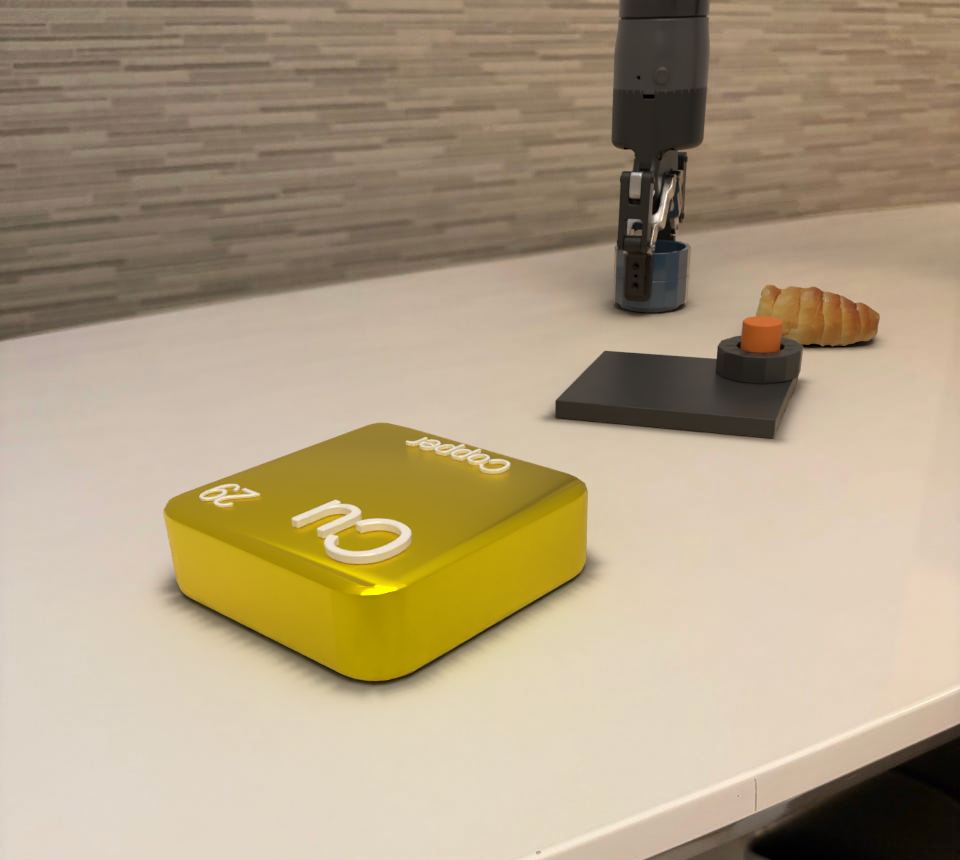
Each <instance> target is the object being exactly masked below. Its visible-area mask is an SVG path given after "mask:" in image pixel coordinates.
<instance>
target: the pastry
mask: <svg viewBox="0 0 960 860" xmlns="http://www.w3.org/2000/svg"><path fill="white" fill-rule="evenodd" d="M758 302H759V303H758V307H757V311H756V313H755V316H769V317H775V318H778V319H781V320H782V321H783V326H782V335H781V337H783V338H787V339H791V340H795V341H797V342H798V343H800V344H801V345H807V346H809V345H811V344H814V345H819V346H821V347H822V348H823V347H824V346H831V348H832V347H834V346H843V347H845V346H847V345H852V344H855V343H857V342H869V341H870V340H872V339H874V338H875V337H876V336H877V334H878V332H879V331H878V330H879V324H880V315H881V314H880V313H879V312H878V311H876V310H875V309H873V308H872V307H871V306H869V305H867V304H865V303H864V302H861V301H860V302H854V301H852V300H851V299H849V298H847V297H845V296H844V295H840V294H838V293H834V292H830V291H824V290H821V289H820V288H818V287H817V286H810V287H800V286H792V285H791V286H788V287H786V288H778V287H777V286H776V285H774V284H766V285H765V286H764V287H763V288H762V290H761V292H760V298H759V301H758Z"/></svg>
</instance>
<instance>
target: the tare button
mask: <svg viewBox="0 0 960 860" xmlns="http://www.w3.org/2000/svg"><path fill="white" fill-rule="evenodd" d="M782 326H783V321H782V320H781V319H778V318H775V317H769V316H756V315H755V316H749V317H746V318H744V319H743V321H742V327H741V335H740V336H741V347H740V349H741V350H745V351H749V352H761V353H766V352H777V351H780V344H781V335H782Z"/></svg>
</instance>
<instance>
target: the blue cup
mask: <svg viewBox="0 0 960 860" xmlns="http://www.w3.org/2000/svg"><path fill="white" fill-rule="evenodd" d="M655 245H656V248H655V251H654V254H653V255H654V259H653V278H652V295H651V298H650V299H649V300H648V301H646V302H637V301H628V300H626V299H625V297H624V288H625V263H626V255H627V254H623V251H618V248H617V244H616V245H614V254H613V255H614V259H613V289H612V292H613V293H612V294H613V295H612V299H613V301H614V303H615V304H618V305H619V307H620V308H622V309H623V310H626V311H630V312H635V313H652V314H653V313H665V312H671V311H674V310H676V309H679V308H680V306H681V305H683V304H685V303H687V300H689V299H688V298H689V283H690V269H691V254H692V253H691V252H692V246H691V245H690V244H689V243H687V242H684V241H682V240H675V241H674V240H661V239H656V244H655Z"/></svg>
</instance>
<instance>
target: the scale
mask: <svg viewBox="0 0 960 860" xmlns="http://www.w3.org/2000/svg"><path fill="white" fill-rule="evenodd" d="M741 336H742V335H735V336H732V337H728V338H725V339H722V340H720V342H719V343H718V345H717V348H716V349H717V351H716V358H711V357H710V358H709V357H700V356H699V357H698V356H685V355H672V354H670V355H669V354H657V353H655V354H654V353H643V352H642V353H641V352H629V351H617V350H604V351H602V353H600V354H599V356H597V357H596V359H595V360H594V361H593V362H592V363H591V364H590V365H589V366H587V368H585V370H583V372H581V374H580V375H579V376H578V377H577V378H576V379H575V380H574V381H573V382H572V383H571V384H570V385H569V386H568V387H567V388H566V389H565V390H564V391H563V392H562V393H561V394H560V395H559V396H558V397H557V398H556V399H555V401H554V402H555V406H554V407H555V414H554V415H555V416H554V417H555V418H556V419H566V420H576V421H577V420H578V421H587V422H598V423H608V424H609V423H610V424H618V425H619V424H620V425H628V426H629V425H630V426H641V427H649V428H663V429H670V430H683V431H691V432H692V431H693V432H701V433H702V432H704V433H713V434H714V433H715V434H724V435H734V436H735V435H737V436H745V437H746V436H747V437H757V438H766V439H774V438H775V436H776V434H777V432H778V430H779V429H778V428H779V426H780V424H781V421H782V419H783V417H784V414H785V413H786V409H787V408H788V405H789V402H790V400H791V397H792V396H793V393H794V391H795V388H796V386H797V383H798V381H799V376H800V373H801V370H802V363H803V362H802V361H803V355H804V354H803V353H804V344H800V343H798V342H797V341H795V340H791V339H787V338H783V337H781V344H780V351H777V352H766V353H761V352H749V351H745V350H741V349H740V347H741Z"/></svg>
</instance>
